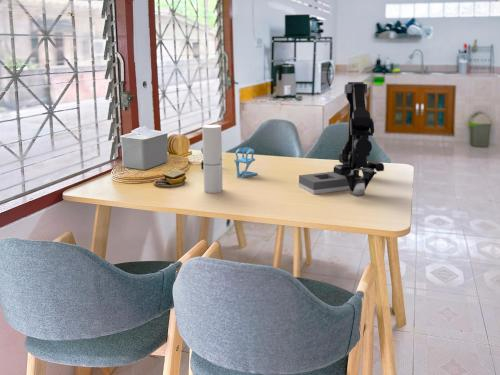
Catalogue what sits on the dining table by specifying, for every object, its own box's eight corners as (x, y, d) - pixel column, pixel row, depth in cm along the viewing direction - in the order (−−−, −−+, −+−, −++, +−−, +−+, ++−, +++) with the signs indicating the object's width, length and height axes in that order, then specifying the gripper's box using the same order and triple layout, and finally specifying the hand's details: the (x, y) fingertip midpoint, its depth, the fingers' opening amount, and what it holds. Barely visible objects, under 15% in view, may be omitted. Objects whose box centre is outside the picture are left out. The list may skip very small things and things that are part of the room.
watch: (200, 169, 245) (200, 145, 242) (203, 165, 253) (202, 142, 250) (213, 170, 245) (212, 145, 242) (215, 165, 253) (214, 142, 250)
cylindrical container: (225, 188, 214) (224, 125, 208) (218, 193, 208) (216, 128, 201) (208, 187, 217) (206, 124, 210) (201, 191, 210) (199, 127, 203)
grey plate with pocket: (333, 182, 223) (334, 171, 222) (349, 189, 212) (350, 178, 211) (298, 186, 217) (299, 175, 216) (313, 194, 206) (313, 182, 205)
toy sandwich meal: (148, 183, 224) (148, 172, 222) (177, 178, 231) (177, 167, 230) (163, 190, 214) (163, 178, 213) (193, 184, 222) (192, 173, 221)
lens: (359, 192, 209) (360, 176, 207) (367, 195, 204) (368, 179, 203) (348, 193, 207) (349, 178, 205) (355, 196, 202) (356, 181, 201)
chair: (232, 176, 233) (231, 149, 230) (242, 172, 240) (242, 145, 237) (247, 178, 229) (247, 150, 226) (257, 174, 236) (257, 147, 233)
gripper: (368, 143, 212) (366, 182, 216) (326, 147, 205) (325, 187, 209) (386, 148, 202) (383, 189, 206) (342, 153, 195) (340, 195, 199)
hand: (357, 190), depth 205 cm, fingers closed on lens, 5 cm apart
